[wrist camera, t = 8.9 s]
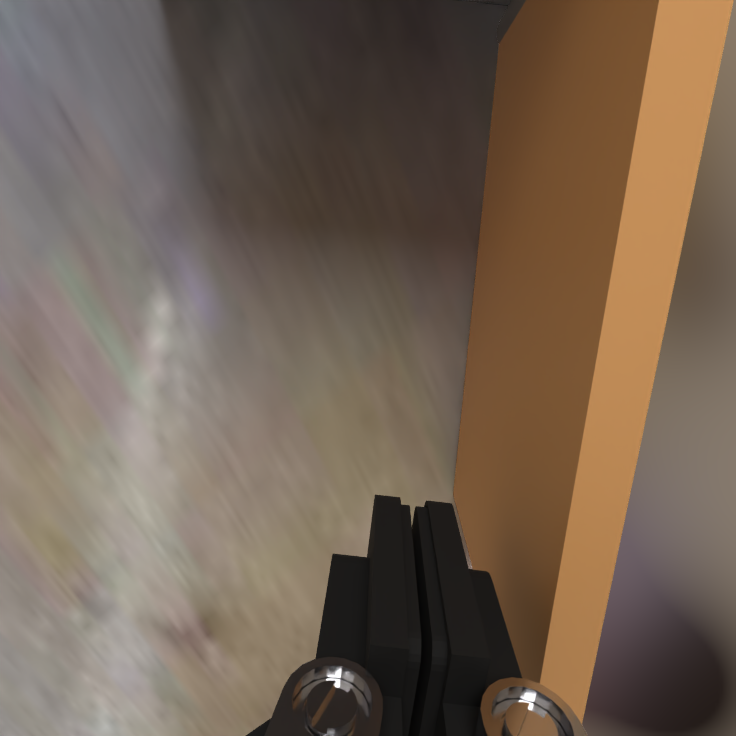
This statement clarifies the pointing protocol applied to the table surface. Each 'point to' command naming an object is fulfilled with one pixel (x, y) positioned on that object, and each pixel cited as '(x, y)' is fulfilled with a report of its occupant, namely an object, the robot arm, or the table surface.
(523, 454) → the side door
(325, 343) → the table surface
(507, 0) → the grey box with knob
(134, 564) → the table surface
